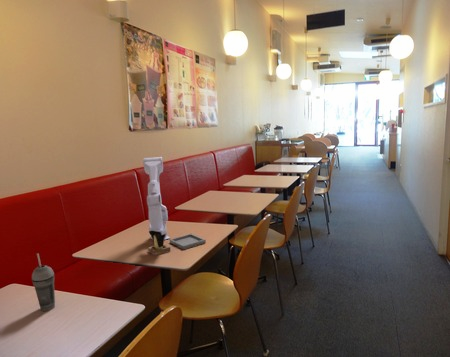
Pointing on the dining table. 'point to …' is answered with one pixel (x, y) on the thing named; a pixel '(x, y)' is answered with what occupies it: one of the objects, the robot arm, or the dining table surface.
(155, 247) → the pin
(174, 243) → the tray
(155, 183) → the robot arm
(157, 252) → the socket block
